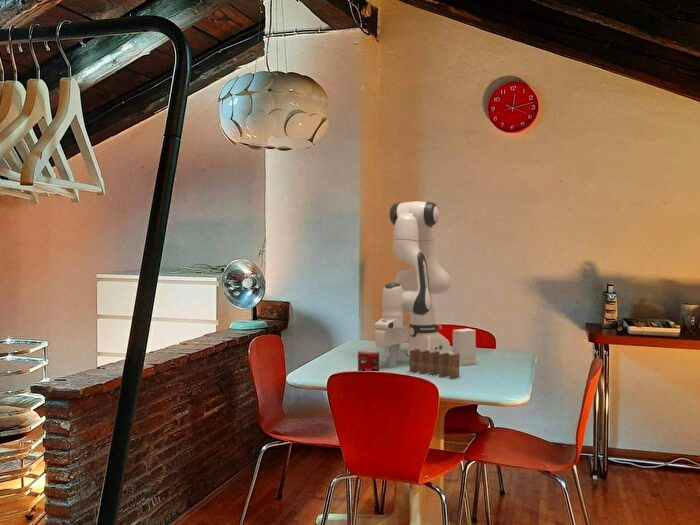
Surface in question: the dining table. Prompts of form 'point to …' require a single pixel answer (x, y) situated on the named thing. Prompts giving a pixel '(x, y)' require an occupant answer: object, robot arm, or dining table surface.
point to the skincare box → (465, 345)
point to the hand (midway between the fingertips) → (392, 355)
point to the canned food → (368, 360)
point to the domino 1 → (392, 356)
